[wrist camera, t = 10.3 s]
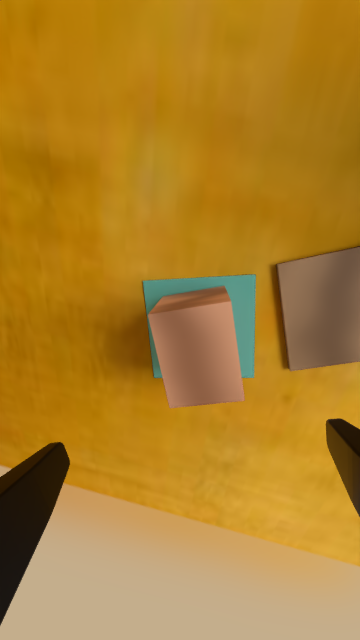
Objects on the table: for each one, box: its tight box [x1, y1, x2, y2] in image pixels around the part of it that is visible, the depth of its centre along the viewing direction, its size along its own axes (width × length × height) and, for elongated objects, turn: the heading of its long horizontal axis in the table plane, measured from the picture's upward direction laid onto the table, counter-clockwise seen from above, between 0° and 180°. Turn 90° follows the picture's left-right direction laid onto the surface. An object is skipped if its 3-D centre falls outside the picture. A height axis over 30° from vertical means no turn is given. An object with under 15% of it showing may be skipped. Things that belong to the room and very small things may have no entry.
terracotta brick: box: [148, 286, 245, 408], centre depth 16 cm, size 4×6×5 cm
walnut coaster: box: [276, 246, 360, 371], centre depth 17 cm, size 8×8×1 cm
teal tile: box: [143, 274, 256, 378], centre depth 19 cm, size 8×8×1 cm
